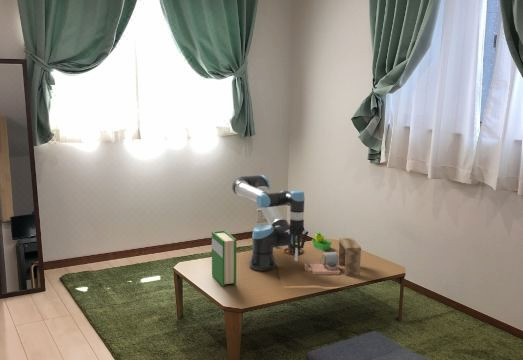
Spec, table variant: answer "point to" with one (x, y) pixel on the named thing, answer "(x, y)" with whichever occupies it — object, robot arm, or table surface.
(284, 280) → the table surface
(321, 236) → the fruit basket
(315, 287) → the table surface
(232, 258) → the hardback book
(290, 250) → the place setting
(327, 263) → the ceramic mug
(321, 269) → the tray
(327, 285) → the table surface
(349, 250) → the shelf
